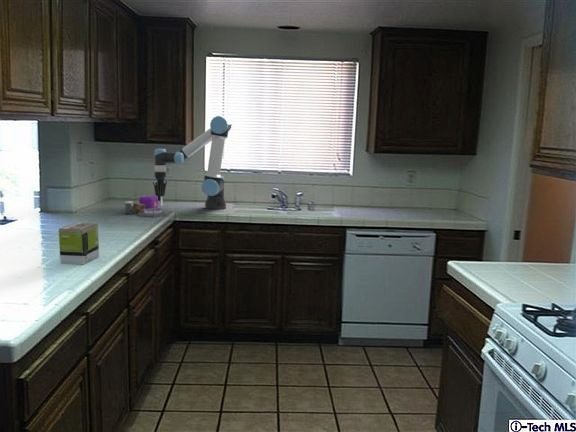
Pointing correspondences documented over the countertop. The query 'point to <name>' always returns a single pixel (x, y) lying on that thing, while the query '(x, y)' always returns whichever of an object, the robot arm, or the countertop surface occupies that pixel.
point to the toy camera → (149, 201)
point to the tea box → (78, 243)
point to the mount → (151, 212)
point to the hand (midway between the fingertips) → (160, 205)
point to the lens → (129, 208)
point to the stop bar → (138, 207)
